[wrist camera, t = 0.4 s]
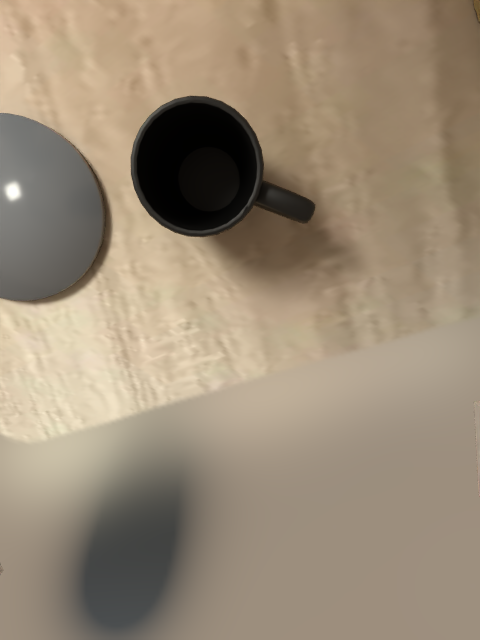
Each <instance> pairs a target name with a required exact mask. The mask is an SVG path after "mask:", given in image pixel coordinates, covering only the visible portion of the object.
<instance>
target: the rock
mask: <svg viewBox="0 0 480 640" xmlns="http://www.w3.org/2000/svg"><path fill="white" fill-rule="evenodd" d="M474 8H475V10H476V12H477V16H478V20H479V22H480V0H474Z"/></svg>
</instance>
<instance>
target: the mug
mask: <svg viewBox="0 0 480 640" xmlns="http://www.w3.org/2000/svg"><path fill="white" fill-rule="evenodd" d="M263 171H264V162H263V156H262V150H261V147H260V144H259V141H258V139H257V136H256V134H255V132H254V131H253V129H252V128H251V126H250V125H249V123H248V122H247V120H246V119H245V118H244V117H243V116H242V115H241V114H240V113H239V112H237V111H236V110H235V109H234V108H232V107H231V106H229V105H227V104H225V103H224V102H222V101H219V100H216V99H213V98H209V97H205V96H187V97H182V98H177V99H174V100H172V101H170V102H168V103H166V104H164V105H162V106H160V107H159V108H158V109H157V110H156V111H154V112H153V113H152V114H151V115H150V116H149V117H148V118H147V120H146V121H145V122H144V124H143V125H142V126H141V128H140V130H139V132H138V134H137V136H136V139H135V141H134V144H133V149H132V154H131V176H132V180H133V185H134V189H135V191H136V193H137V196H138V198H139V200H140V202H141V204H142V205H143V207H144V208H145V209H146V211H147V212H148V213H149V214H150V216H151V217H153V218H154V219H155V220H156V221H157V222H158V223H159V224H161V225H162V226H164V227H165V228H167V229H169V230H171V231H173V232H175V233H178V234H182V235H185V236H190V237H206V236H212V235H217V234H220V233H222V232H224V231H226V230H229V229H231V228H232V227H233V226H235V225H236V224H237V223H239V222H240V221H241V220H243V218H244V217H245V216H246V215H247V214H248V213H249V211H250V210H251V209H252V207H253V205H255V206H257V207H260V208H263V209H265V210H268V211H270V212H273V213H276V214H278V215H281V216H283V217H286V218H289V219H291V220H294V221H297V222H300V223H308V221H309V220H310V219H311V217H312V215H313V213H314V210H315V204H314V203H313V202H312V201H311V200H309V199H307V198H305V197H303V196H301V195H298V194H296V193H294V192H291V191H289V190H286V189H284V188H281V187H279V186H276V185H274V184H271V183H269V182H266V181H263Z"/></svg>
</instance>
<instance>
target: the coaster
mask: <svg viewBox="0 0 480 640" xmlns="http://www.w3.org/2000/svg"><path fill="white" fill-rule="evenodd" d="M104 231H105V208H104V201H103V197H102V193H101V189H100V186H99V184H98V182H97V179H96V177H95V175H94V173H93V171H92V169H91V167H90V166H89V164H88V163H87V161H86V160H85V159H84V157H83V156H82V154H81V153H80V152H79V151H78V150H77V149H76V148H75V147H74V146H73V145H72V144H71V143H70V142H69V141H68V140H67V139H66V138H64V137H63V136H62V135H60V134H59V133H57V132H56V131H54V130H53V129H51V128H49V127H47V126H45V125H43V124H41V123H39V122H37V121H34V120H31V119H29V118H26V117H23V116H19V115H14V114H8V113H0V298H4V299H9V300H19V301H27V300H37V299H42V298H46V297H49V296H52V295H54V294H57V293H59V292H61V291H63V290H65V289H67V288H69V287H70V286H72V285H73V284H75V283H76V282H77V281H79V280H80V279H81V278H82V277H83V276H84V275H85V274H86V273H87V271H88V270H89V269H90V267H91V266H92V265H93V263H94V261H95V259H96V258H97V256H98V253H99V251H100V248H101V245H102V241H103V237H104Z"/></svg>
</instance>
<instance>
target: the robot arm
mask: <svg viewBox="0 0 480 640" xmlns="http://www.w3.org/2000/svg"><path fill="white" fill-rule="evenodd" d="M474 415H475V433H476V452H477V472H478V489H479V497H480V401H475V402H474ZM2 572H3V569H2V567H1V564H0V574H1V573H2Z"/></svg>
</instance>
